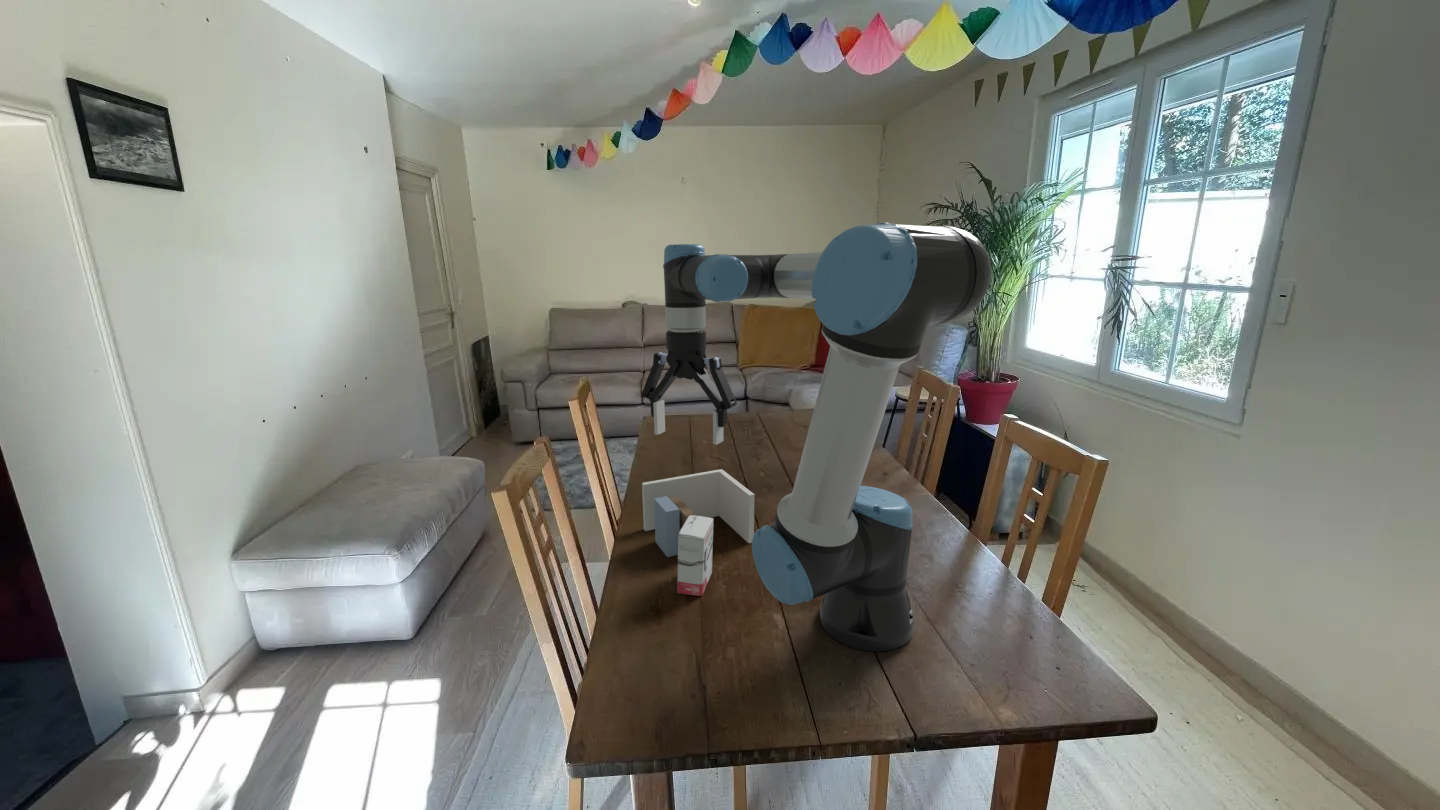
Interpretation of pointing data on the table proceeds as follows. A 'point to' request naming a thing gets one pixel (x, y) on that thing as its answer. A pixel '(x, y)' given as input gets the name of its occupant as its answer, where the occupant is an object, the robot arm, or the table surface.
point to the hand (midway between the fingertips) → (688, 437)
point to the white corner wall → (696, 505)
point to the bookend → (682, 510)
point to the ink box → (695, 555)
